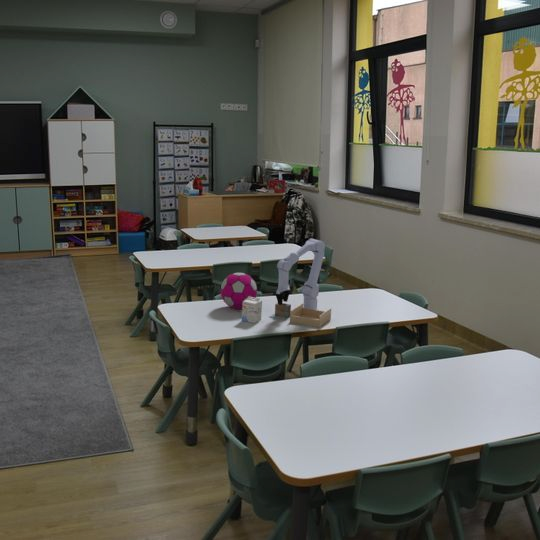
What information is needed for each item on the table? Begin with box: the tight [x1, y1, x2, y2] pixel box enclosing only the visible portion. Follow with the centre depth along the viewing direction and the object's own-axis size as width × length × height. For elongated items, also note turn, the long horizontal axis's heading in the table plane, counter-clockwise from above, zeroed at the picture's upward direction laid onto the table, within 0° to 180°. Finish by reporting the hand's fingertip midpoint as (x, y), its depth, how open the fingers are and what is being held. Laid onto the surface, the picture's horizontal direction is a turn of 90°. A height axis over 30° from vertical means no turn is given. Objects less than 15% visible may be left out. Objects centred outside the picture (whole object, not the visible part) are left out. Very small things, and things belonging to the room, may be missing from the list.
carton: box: [289, 303, 332, 328], centre depth 389 cm, size 18×18×7 cm
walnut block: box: [274, 302, 292, 318], centre depth 396 cm, size 4×8×7 cm, turn 65°
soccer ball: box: [220, 272, 258, 310], centre depth 408 cm, size 22×22×22 cm
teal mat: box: [269, 313, 290, 321], centre depth 397 cm, size 11×11×1 cm
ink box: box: [241, 296, 263, 324], centre depth 386 cm, size 9×8×13 cm
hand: (282, 303), depth 396 cm, fingers open, 7 cm apart
